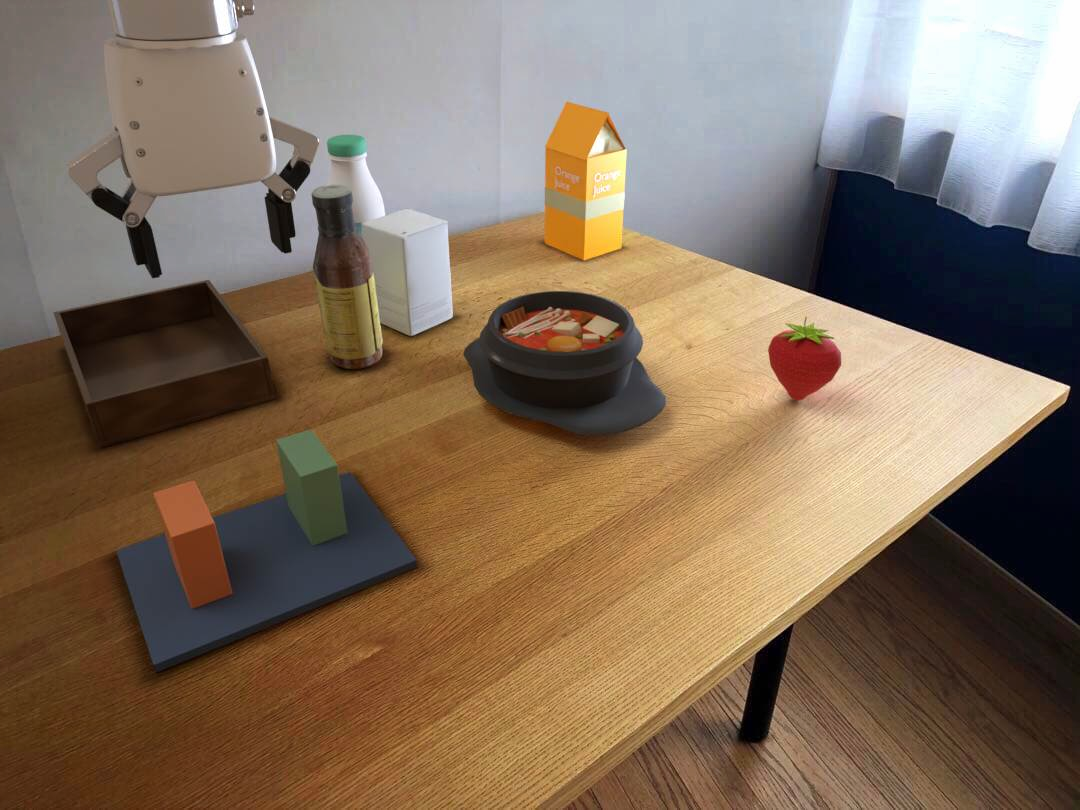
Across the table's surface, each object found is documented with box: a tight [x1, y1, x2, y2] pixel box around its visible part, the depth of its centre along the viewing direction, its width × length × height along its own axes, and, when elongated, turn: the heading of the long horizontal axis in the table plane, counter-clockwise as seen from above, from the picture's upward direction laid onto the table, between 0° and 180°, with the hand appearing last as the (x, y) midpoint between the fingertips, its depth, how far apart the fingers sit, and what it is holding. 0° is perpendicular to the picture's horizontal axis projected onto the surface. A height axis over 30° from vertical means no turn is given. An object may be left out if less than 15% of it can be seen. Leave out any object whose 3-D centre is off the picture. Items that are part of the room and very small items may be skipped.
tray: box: [52, 279, 277, 449], centre depth 94 cm, size 17×23×5 cm
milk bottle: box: [326, 134, 386, 240], centre depth 109 cm, size 8×8×20 cm
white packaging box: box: [362, 208, 454, 337], centre depth 104 cm, size 7×7×13 cm
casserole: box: [462, 290, 667, 437], centre depth 90 cm, size 25×19×8 cm
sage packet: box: [275, 429, 347, 546], centre depth 71 cm, size 3×6×7 cm, turn 32°
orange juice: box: [544, 101, 628, 261], centre depth 123 cm, size 8×9×20 cm
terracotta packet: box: [153, 480, 232, 609], centre depth 65 cm, size 3×6×7 cm, turn 32°
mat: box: [115, 471, 418, 673], centre depth 69 cm, size 20×14×1 cm
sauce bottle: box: [311, 185, 384, 370], centre depth 93 cm, size 6×6×20 cm
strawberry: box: [767, 315, 842, 401], centre depth 88 cm, size 6×8×10 cm
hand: (219, 259), depth 66 cm, fingers open, 9 cm apart
